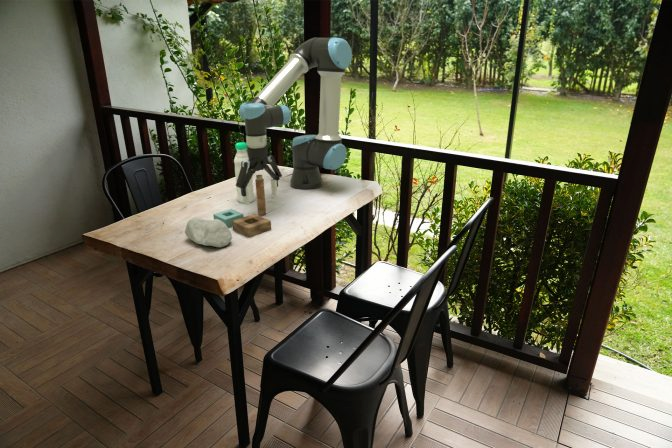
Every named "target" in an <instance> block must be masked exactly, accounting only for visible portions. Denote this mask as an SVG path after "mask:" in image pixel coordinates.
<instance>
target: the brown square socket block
mask: <svg viewBox="0 0 672 448" xmlns="http://www.w3.org/2000/svg"><path fill="white" fill-rule="evenodd" d="M271 221H272V220H270V219H267V218H266V217H263V216H259V215H258V214H256V213H253V214H250V215H247V216H243V218H240V219H237V220H234V221H232V231H235V232H237V233H238V234H240V235H242V236H245V237H247V238H252V237H255V236H257V235H260V234H263V233H267V232H268V231H269V232H270V231H271V230H272V222H271Z"/></svg>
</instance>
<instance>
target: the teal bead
mask: <svg viewBox="0 0 672 448" xmlns="http://www.w3.org/2000/svg"><path fill="white" fill-rule="evenodd" d="M243 217H244V213H242V212H240V211H238V210H235V209H233V208H229V209H225V210H223V211H219V212H217V213H213V220H214V219H219V220H221V221H222V222H223V223H225V224H226V226H227V227H228V229H229V228H233V226H232V221H234V220H237V219H240V218H243Z"/></svg>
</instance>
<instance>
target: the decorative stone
mask: <svg viewBox="0 0 672 448" xmlns="http://www.w3.org/2000/svg"><path fill="white" fill-rule="evenodd" d="M184 234H185V236H186V237H187V238H188V239H189V240H191V241H192V242H194V243H195V244H199V245H203V246H211V247H216V248H223V247H225V246H227V245H229V243H231V241H232V239H233V236H232V233H231V231H230V229H229V228H228V227H227V226H226V224H225V223H223V222H222V221H221V220H219V219H214V218H213V219H212V220H211V219H204V218H199V217H192V218H190V219H189V220H188V221H187V223H186V226H185V230H184Z"/></svg>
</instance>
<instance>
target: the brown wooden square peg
mask: <svg viewBox="0 0 672 448" xmlns="http://www.w3.org/2000/svg"><path fill="white" fill-rule="evenodd" d="M254 183H255V192H256V205H257V206H256V207H257V215H258V216H261V217H263V216H266V215H267V208H266V206H267V205H266V195H265V194H266V193H265V192H266V191H265V180H264V178H263V174H256V176H255V182H254Z"/></svg>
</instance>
